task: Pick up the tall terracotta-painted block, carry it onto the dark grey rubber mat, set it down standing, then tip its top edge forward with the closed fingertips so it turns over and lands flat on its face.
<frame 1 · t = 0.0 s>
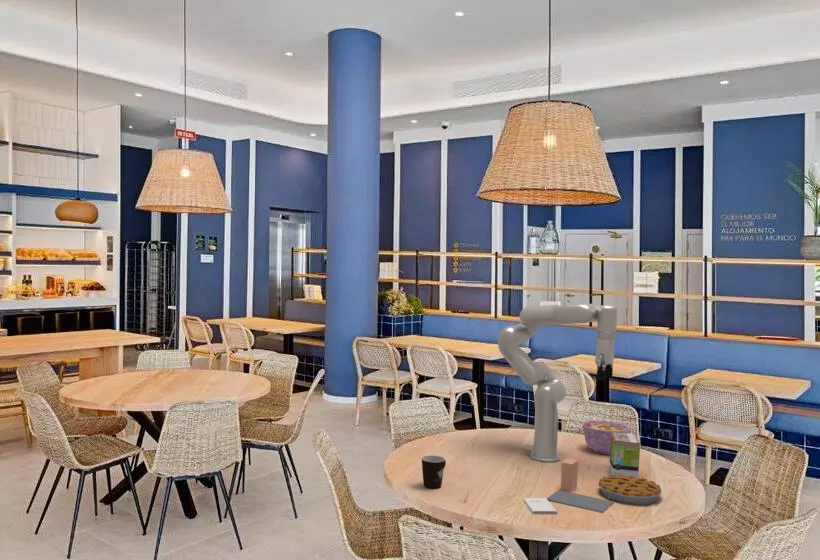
hand: (604, 378, 277), 37 cm above the table, tool pointing down, fingers open, 9 cm apart
coffee mug: (436, 486, 250), on the table
mat: (579, 501, 238), on the table
block: (568, 488, 252), on the table
tea box: (623, 473, 273), on the table
external hard drive: (539, 509, 231), on the table
pie: (629, 496, 247), on the table
bowl of food: (604, 451, 304), on the table
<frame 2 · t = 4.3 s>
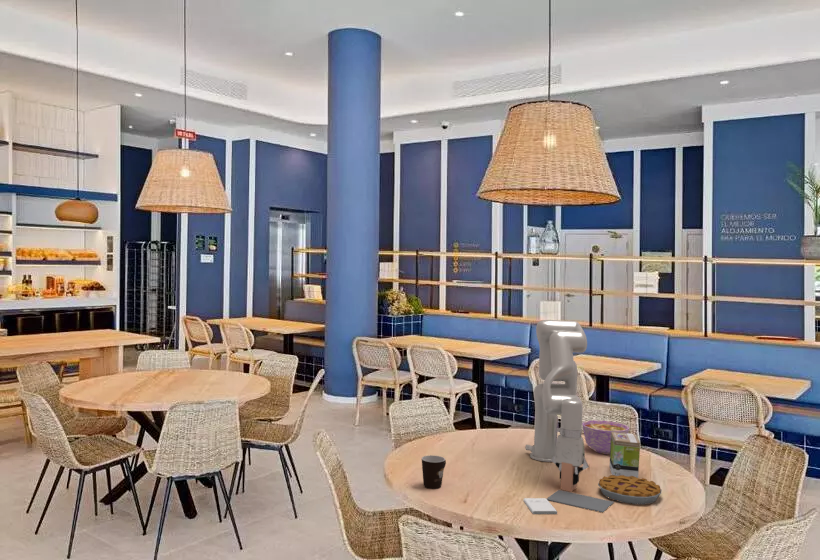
hand: (569, 482, 252), 2 cm above the table, tool pointing down, fingers closed on block, 4 cm apart
block: (568, 488, 252), on the table, touching gripper
everything else where it was.
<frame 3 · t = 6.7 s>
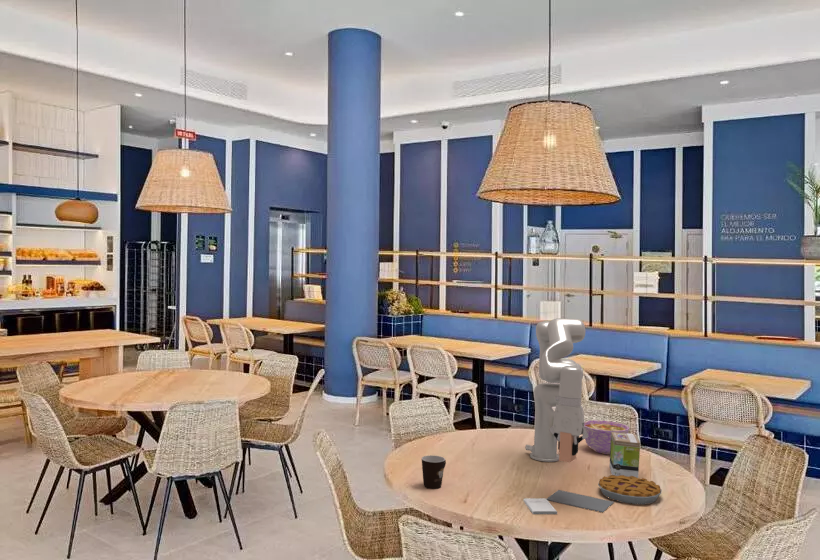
hand: (567, 453, 240), 16 cm above the table, tool pointing down, fingers closed on block, 4 cm apart
block: (567, 459, 240), point 14 cm above the table, touching gripper
everything else where it was.
when the fingers open (3 cm above the table, at t = 9.1 s): block stays where it is, resting on mat.
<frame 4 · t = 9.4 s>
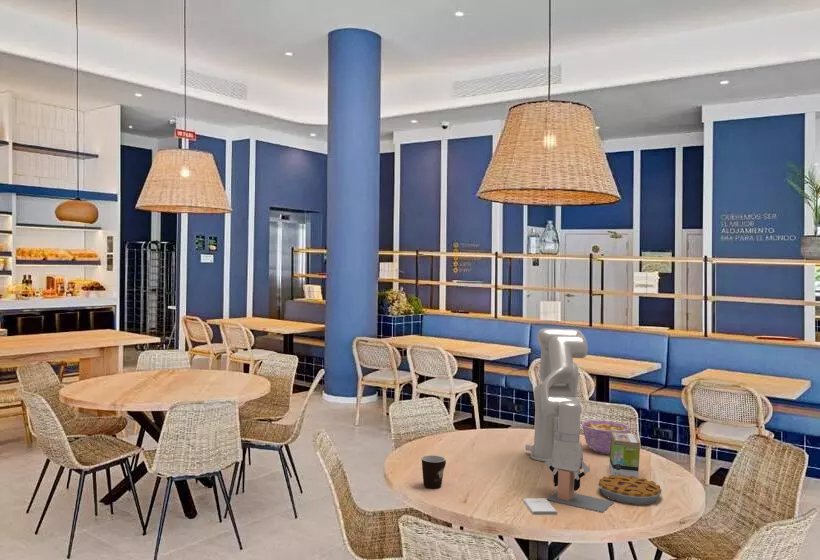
hand: (566, 487, 241), 4 cm above the table, tool pointing down, fingers open, 6 cm apart
block: (565, 497, 241), resting on mat
everything else where it was.
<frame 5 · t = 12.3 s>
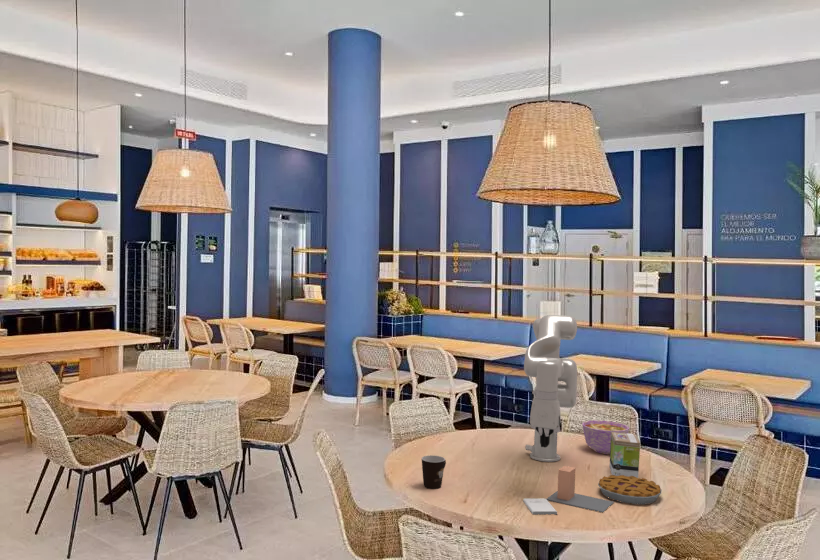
hand: (544, 446, 245), 17 cm above the table, tool pointing down, fingers closed
nothing on the table moved.
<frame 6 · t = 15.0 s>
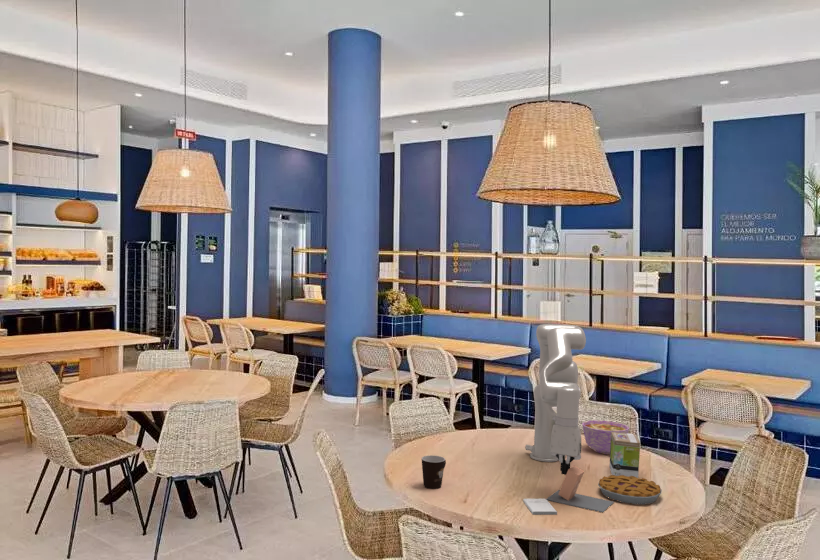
hand: (565, 473, 241), 9 cm above the table, tool pointing down, fingers closed
block: (566, 495, 241), point 1 cm above the table, tilted 19°, touching gripper, mat
everything else where it was.
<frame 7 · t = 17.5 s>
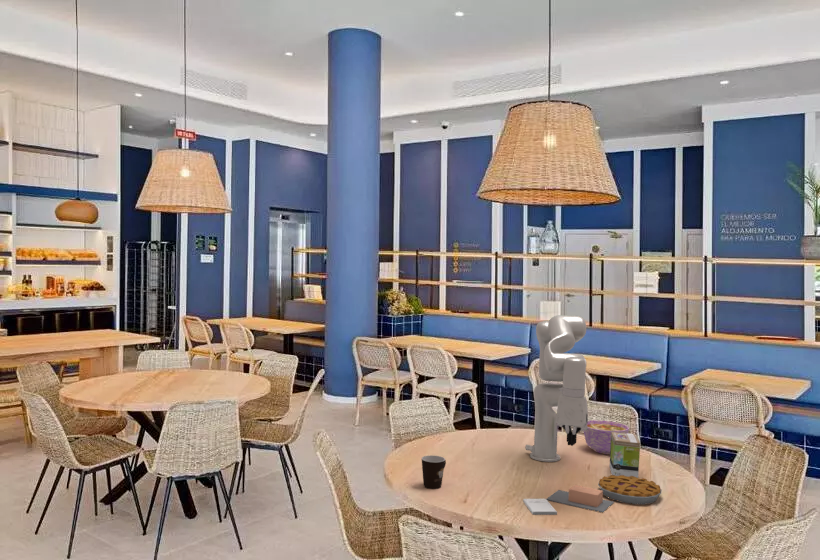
hand: (571, 444, 240), 19 cm above the table, tool pointing down, fingers closed
block: (571, 492, 240), point 2 cm above the table, tilted 90°, touching mat
everything else where it was.
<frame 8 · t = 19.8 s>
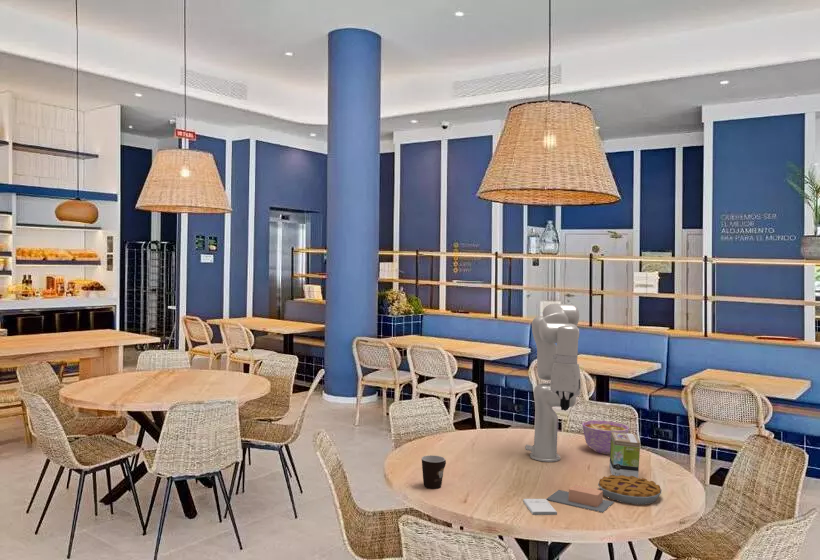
hand: (564, 409, 250), 29 cm above the table, tool pointing down, fingers closed
nothing on the table moved.
at the end: block tilted 90°; block inside the target area on the mat (4.1 cm from its centre), point 2.4 cm above the mat's base; the gripper is holding nothing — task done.
